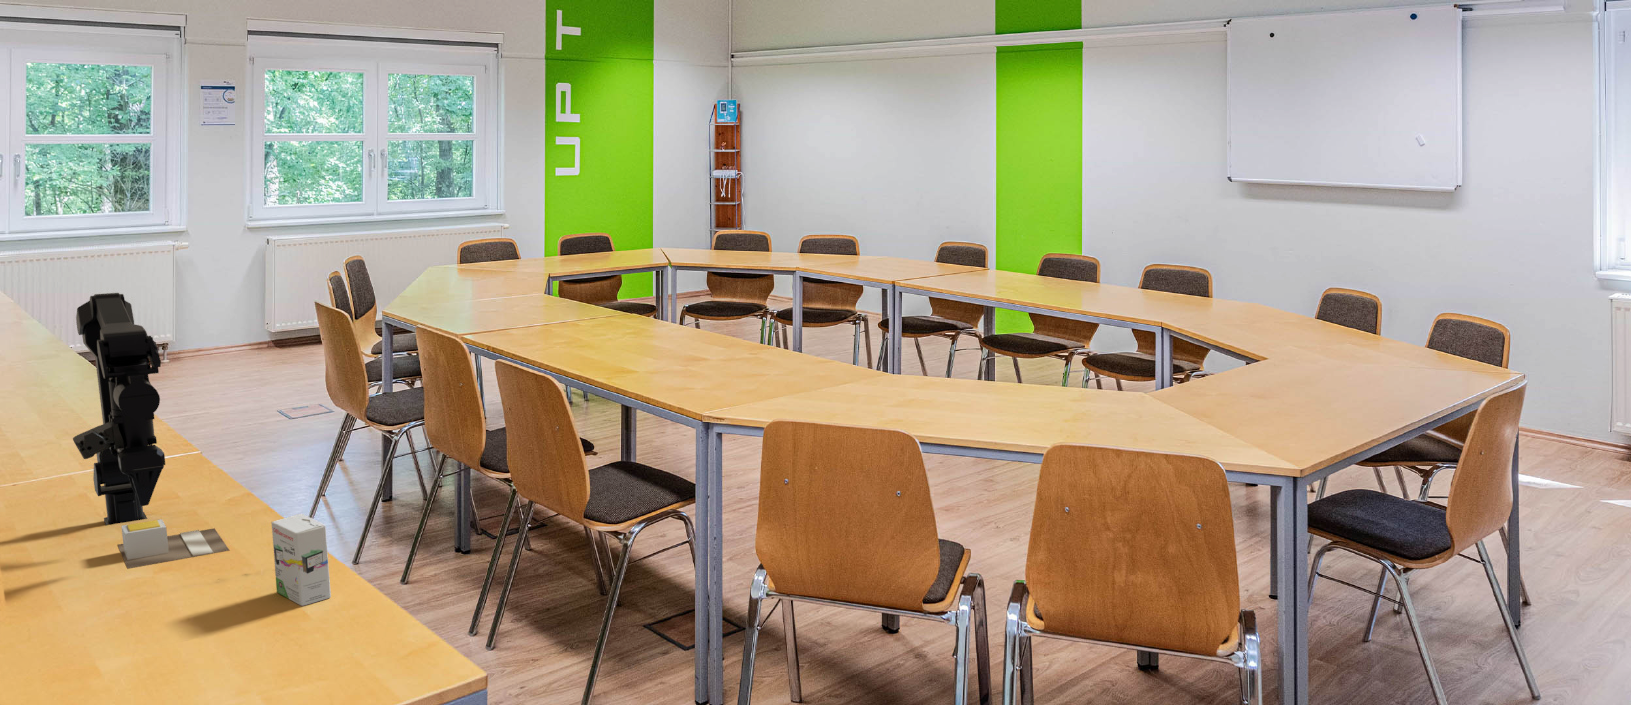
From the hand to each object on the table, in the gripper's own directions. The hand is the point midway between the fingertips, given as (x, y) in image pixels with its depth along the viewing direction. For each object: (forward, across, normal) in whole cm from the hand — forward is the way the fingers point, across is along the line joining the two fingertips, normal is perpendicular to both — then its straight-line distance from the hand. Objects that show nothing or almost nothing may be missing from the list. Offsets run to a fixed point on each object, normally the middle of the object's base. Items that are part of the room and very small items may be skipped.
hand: (140, 498), depth 198 cm
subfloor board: (+10, 0, +4) cm, 11 cm away
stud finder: (+9, 0, 0) cm, 9 cm away
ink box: (+11, +32, +18) cm, 38 cm away
